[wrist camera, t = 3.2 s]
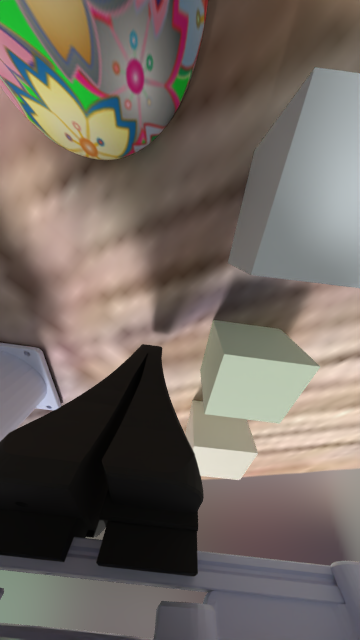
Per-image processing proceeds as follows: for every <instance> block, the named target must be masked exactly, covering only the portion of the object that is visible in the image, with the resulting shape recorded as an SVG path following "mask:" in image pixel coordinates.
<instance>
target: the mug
mask: <svg viewBox="0 0 360 640" xmlns="http://www.w3.org/2000/svg"><path fill="white" fill-rule="evenodd" d="M207 5H208V0H0V86H1V87H2V89H3V90H4V92H5V93H6V94H7V96H8V97H9V98H10V99H11V101H12V102H13V103H14V104H15V106H16V107H17V108H18V109H19V110H20V111H21V112H22V113H23V115H24V116H25V117H26V118H27V119H28V120H29V121H30V122H31V123H32V124H33V125H34V126H35V127H36V128H37V129H38V130H39V131H41V132H42V133H43V134H44V135H45V136H47V137H48V138H49V139H51V140H52V141H54V142H55V143H56V144H58V145H60V146H61V147H63V148H65V149H67V150H69V151H71V152H73V153H76V154H78V155H81V156H85V157H88V158H93V159H98V160H112V159H119V158H123V157H126V156H129V155H132V154H134V153H136V152H138V151H140V150H141V149H143V148H144V147H146V146H147V145H148V144H150V143H151V142H152V141H153V140H154V139H155V138H156V137H157V136H158V135H159V134H160V133H161V132H162V131H163V129H164V128H165V127H166V126H167V124H168V123H169V121H170V120H171V119H172V117H173V115H174V114H175V112H176V110H177V108H178V107H179V105H180V103H181V101H182V99H183V96H184V94H185V92H186V90H187V87H188V84H189V82H190V79H191V76H192V73H193V70H194V67H195V64H196V60H197V57H198V53H199V49H200V45H201V41H202V36H203V30H204V25H205V20H206V13H207Z"/></svg>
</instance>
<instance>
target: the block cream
mask: <svg viewBox="0 0 360 640" xmlns="http://www.w3.org/2000/svg"><path fill="white" fill-rule="evenodd" d="M186 437H187V439H188V441H189V443H190V445H191V447H192V449H193V451H194V453H195V457H196V460H197V464H198V468H199V472H200V476H208V477H217V478H226V479H235V480H240V479H241V477H242V476H243V474H244V473H245V471H246V470H247V469H248V467H249V466H250V464H251V463H252V461H253V460H254V458H255V457H256V455H257V454H258V452H257V449H256V446H255V443H254V440H253V437H252V434H251V431H250V428H249V425H248V422H247V419H240V418H232V417H224V416H216V415H208V414H204V403H203V401H195V400H192V405H191V409H190V414H189V418H188V423H187V427H186Z"/></svg>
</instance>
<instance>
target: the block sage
mask: <svg viewBox="0 0 360 640" xmlns="http://www.w3.org/2000/svg"><path fill="white" fill-rule="evenodd" d="M319 368H320V366H319V365H318V364H317V363H316V362H315V361H314V360H313V359H312V358H311V357H309V356H308V355H307V354H306V353H305V352H304V351H303V350H302V349H301V348H300V347H299V346H298V345H297V344H296V343H295V342H294V341H292V340H291V339H290V338H289V337H288V336H287V335H286V334H285V333H284V332H283V331H282V330H281V329H277V328H269V327H262V326H255V325H247V324H240V323H232V322H225V321H218V320H213V322H212V326H211V330H210V334H209V338H208V342H207V346H206V350H205V354H204V358H203V362H202V366H201V370H200V372H201V382H202V393H203V403H204V414H208V415H216V416H224V417H232V418H240V419H248V420H256V421H264V422H272V423H280V422H281V421H282V420H283V418H284V417H285V415H286V414H287V413H288V411H289V410H290V408H291V407H292V406H293V404H294V403H295V401H296V400H297V399H298V397H299V396H300V394H301V393H302V392H303V390H304V389H305V387H306V386H307V385H308V383H309V382H310V381H311V379H312V378H313V376H314V375H315V374H316V372H317V371H318V369H319Z"/></svg>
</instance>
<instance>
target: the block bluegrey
mask: <svg viewBox="0 0 360 640" xmlns="http://www.w3.org/2000/svg"><path fill="white" fill-rule="evenodd" d="M228 263H229V264H231V265H233V266H234V267H236V268H238V269H240V270H242V271H244V272H246V273H248V274H250V275H255V276H263V277H271V278H280V279H288V280H296V281H305V282H313V283H321V284H330V285H338V286H346V287H355V288H360V73H355V72H348V71H340V70H333V69H325V68H318V67H315V68H314V69H313V71H312V72H311V73H310V75H309V76H308V78H307V79H306V80H305V82H304V83H303V84H302V86H301V87H300V89H299V90H298V91H297V93H296V94H295V95H294V97H293V98H292V100H291V101H290V102H289V104H288V105H287V106H286V108H285V109H284V111H283V112H282V113H281V115H280V116H279V117H278V119H277V120H276V122H275V123H274V124H273V126H272V127H271V128H270V130H269V131H268V133H267V134H266V135H265V137H264V138H263V139H262V141H261V142H260V143H259V145H258V146H257V148H256V149H255V150H254V154H253V158H252V163H251V167H250V171H249V175H248V180H247V184H246V188H245V192H244V197H243V201H242V205H241V209H240V214H239V218H238V222H237V226H236V231H235V235H234V239H233V243H232V248H231V252H230V256H229V260H228Z"/></svg>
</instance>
